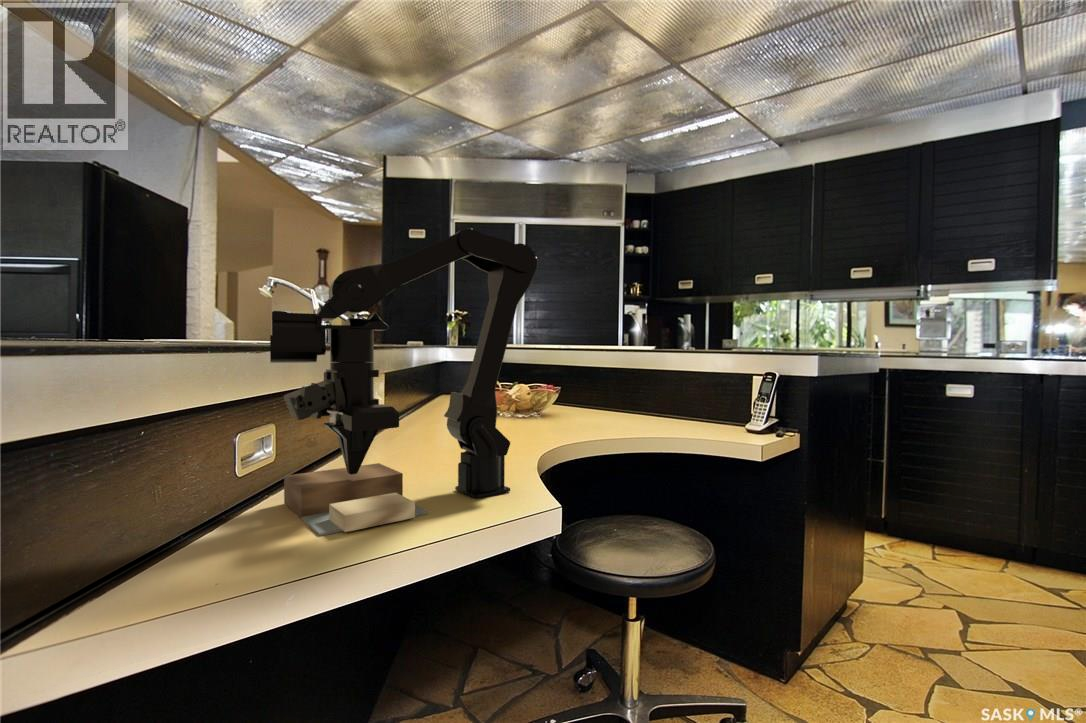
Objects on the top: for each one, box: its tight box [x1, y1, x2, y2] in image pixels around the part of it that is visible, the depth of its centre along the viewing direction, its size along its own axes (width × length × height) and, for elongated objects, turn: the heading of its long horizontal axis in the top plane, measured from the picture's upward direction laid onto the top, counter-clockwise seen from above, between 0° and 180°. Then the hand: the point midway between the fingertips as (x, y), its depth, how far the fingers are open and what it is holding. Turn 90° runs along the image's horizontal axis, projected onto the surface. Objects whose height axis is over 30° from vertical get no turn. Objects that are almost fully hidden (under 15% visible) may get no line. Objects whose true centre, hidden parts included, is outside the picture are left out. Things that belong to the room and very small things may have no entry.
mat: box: [300, 504, 428, 537], centre depth 70 cm, size 14×8×1 cm, turn 129°
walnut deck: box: [283, 462, 404, 519], centre depth 77 cm, size 14×9×4 cm, turn 129°
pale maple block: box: [329, 493, 416, 533], centre depth 68 cm, size 9×6×2 cm, turn 129°
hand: (352, 473), depth 74 cm, fingers closed
